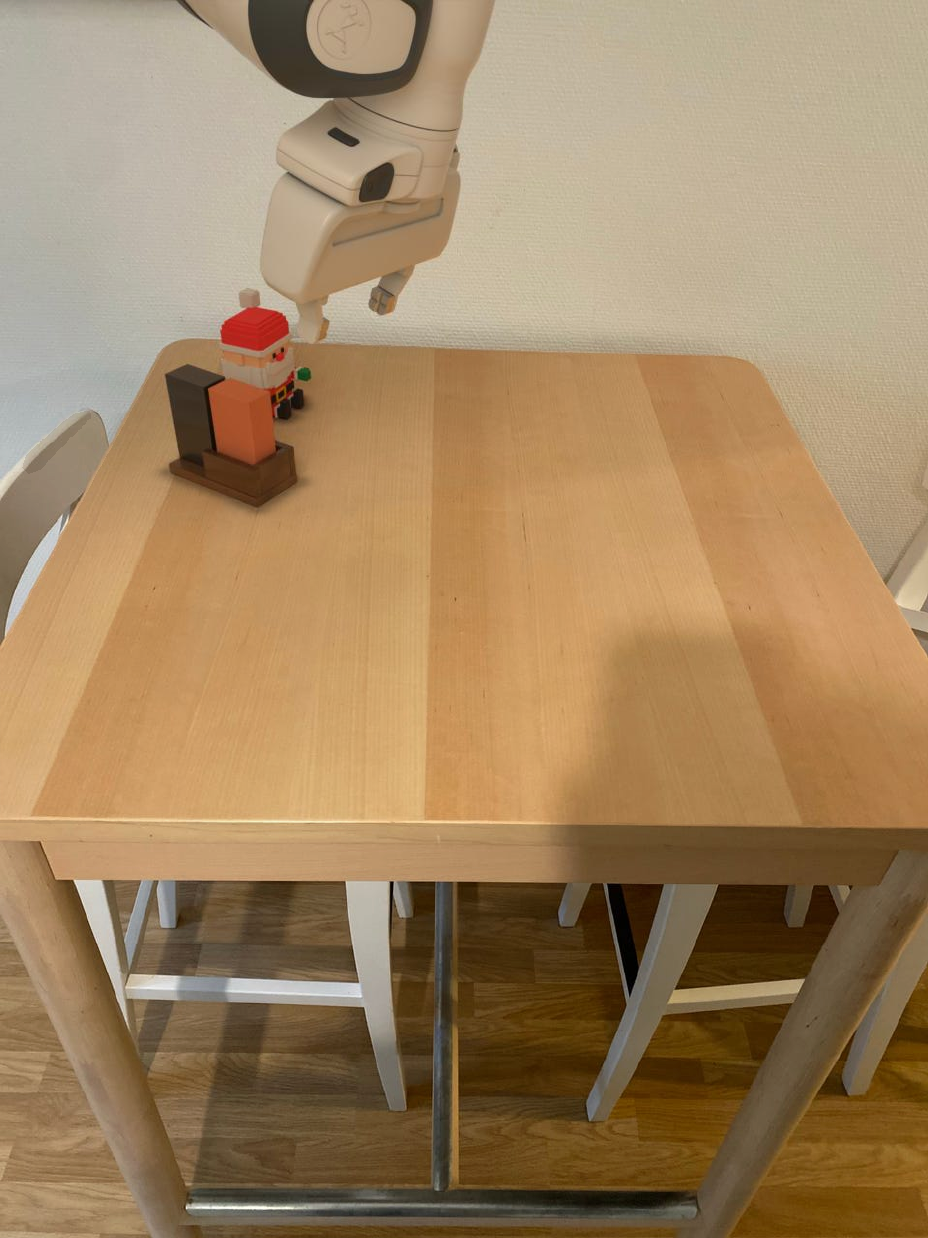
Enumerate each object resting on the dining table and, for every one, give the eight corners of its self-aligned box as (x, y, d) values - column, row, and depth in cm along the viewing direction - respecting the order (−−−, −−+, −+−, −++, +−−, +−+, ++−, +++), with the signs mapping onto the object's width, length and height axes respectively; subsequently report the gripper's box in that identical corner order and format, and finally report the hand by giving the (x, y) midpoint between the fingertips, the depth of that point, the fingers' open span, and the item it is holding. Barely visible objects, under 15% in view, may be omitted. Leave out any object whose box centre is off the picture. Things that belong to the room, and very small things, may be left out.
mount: (257, 507, 87) (245, 412, 81) (169, 472, 92) (152, 379, 85) (297, 481, 91) (289, 388, 85) (212, 448, 96) (198, 358, 89)
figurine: (275, 428, 100) (265, 321, 92) (221, 414, 102) (206, 308, 94) (314, 397, 106) (307, 295, 98) (262, 386, 108) (251, 284, 100)
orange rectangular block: (258, 488, 88) (248, 402, 82) (220, 473, 90) (207, 388, 84) (278, 475, 90) (270, 390, 84) (241, 460, 92) (230, 377, 86)
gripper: (431, 117, 72) (388, 279, 81) (260, 139, 57) (231, 335, 66) (495, 152, 71) (445, 313, 80) (338, 184, 56) (298, 377, 65)
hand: (347, 323), depth 73 cm, fingers open, 8 cm apart
